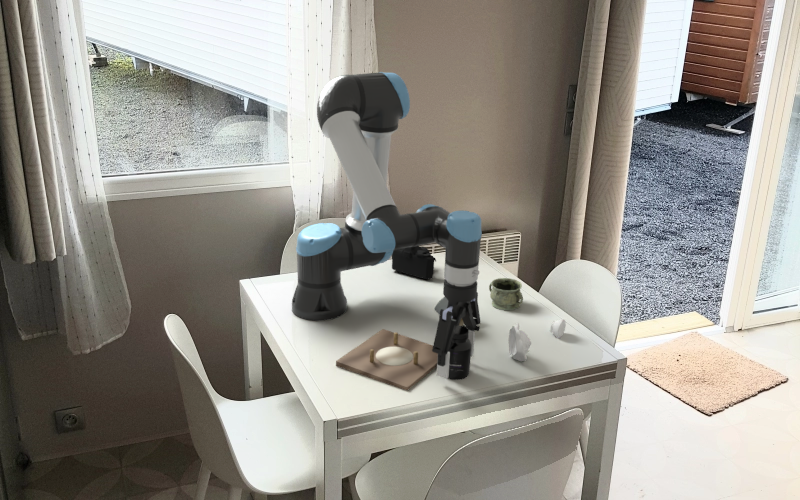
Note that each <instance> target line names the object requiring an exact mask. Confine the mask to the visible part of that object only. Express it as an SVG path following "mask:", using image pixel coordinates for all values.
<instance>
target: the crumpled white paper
mask: <svg viewBox="0 0 800 500" xmlns="http://www.w3.org/2000/svg"><path fill="white" fill-rule="evenodd" d="M508 334H509V335H508V354H509V356H511V355H513V356H511V358H512V359H514V360H516V361H518V360H519V362H521V361H524V362H525V361H527V359H528V357H527V354H528V353H529V352H530V348H531V346H532V341H531V339H530V337H529V336H528V334H527V333H526V332H525V331H523V330H521V329H520V323H518V322H517V323H515V324H514V325H513V326H512V327H511V329H510V330H509V333H508Z"/></svg>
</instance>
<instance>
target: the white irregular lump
mask: <svg viewBox="0 0 800 500" xmlns="http://www.w3.org/2000/svg"><path fill="white" fill-rule="evenodd" d="M566 323H567V322H566V319H563V318H562V319H557V320H552V321H551V324H550V328H549V331H550V333H552V334H553V336H554V337H555V338H557V339H560V338H562V337H563V335H564V334H565V332H566Z"/></svg>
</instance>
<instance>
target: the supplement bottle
mask: <svg viewBox="0 0 800 500" xmlns="http://www.w3.org/2000/svg"><path fill="white" fill-rule="evenodd" d="M468 334H469V330H468V329H467V328H466V327H465V325H463V326H460V325H458V326H457V327H456V329H455V332H454V335H453V338H452V341H451V344H450V347H449V350H448V352H450V360H449V377H448V378H447V379H448V380H452V381H459V380H460V381H461V380H464V379H467V377H469V376H470V367H471V360H472V357H471V349H472V344H471V341H470V340H469V339H468V337H469V335H468Z"/></svg>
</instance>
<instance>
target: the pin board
mask: <svg viewBox="0 0 800 500" xmlns="http://www.w3.org/2000/svg"><path fill="white" fill-rule="evenodd" d="M432 349H433V344H429V343H427V342H424V341H420V340H418V339H414V338H411V337H409V336H406V335H403V334H399V333H398V332H394V331H390V330H387V329H384V328H382V329H381V330H379V331H377V333H375V334H373V335H371V336H370V337H369V338H368V339H366V340H364V341H363V342H361V343H360V344H358V345H357V346H356V347H354V348H353V349H351V350H349V352H347V353H346V354H344V355H343V356H342V357H340V358H339V359H337V360H335V366H336V367H339V368H341V369H345V370H347V371H349V372H353V373H355V374H359V375H362V376H364V377H367V378H370V379H373V380H376V381H378V382H382V383H385V384H388V385H390V386H392V387H395V388H398V389H401V390H405V391H409V390H410V389H411V388H412V387H414V386H415V385H417V383H419V382H420V381H422V380H423V379H424V378H425V377H426V376H427V375H428V374H430V373H431V372H433V370H435V369H437V357H438V353H435V352H432Z"/></svg>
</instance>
